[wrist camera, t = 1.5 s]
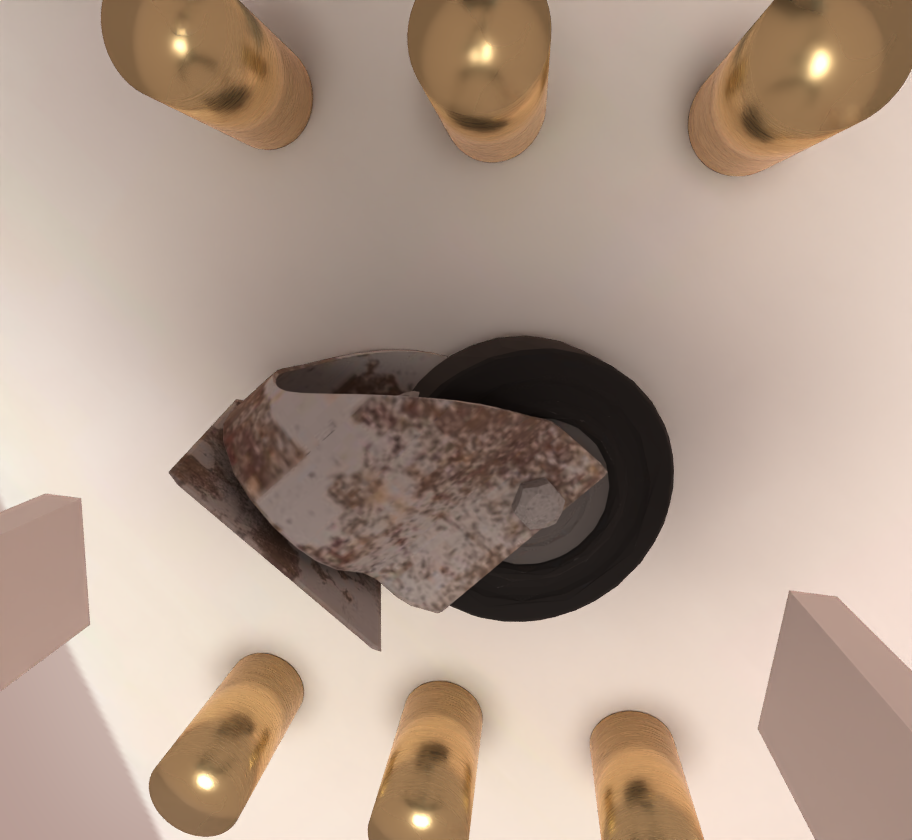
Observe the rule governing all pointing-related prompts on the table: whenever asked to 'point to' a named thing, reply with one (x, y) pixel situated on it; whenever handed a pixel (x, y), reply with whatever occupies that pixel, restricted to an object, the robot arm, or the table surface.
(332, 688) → the table surface
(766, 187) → the table surface
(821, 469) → the table surface
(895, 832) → the robot arm
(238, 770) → the posts
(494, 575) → the caster wheel
